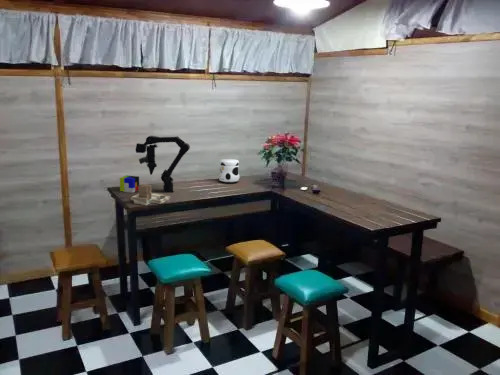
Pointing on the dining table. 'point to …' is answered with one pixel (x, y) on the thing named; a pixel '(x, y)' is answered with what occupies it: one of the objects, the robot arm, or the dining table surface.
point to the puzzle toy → (129, 183)
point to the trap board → (154, 199)
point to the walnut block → (145, 191)
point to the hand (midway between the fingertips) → (151, 174)
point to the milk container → (229, 170)
